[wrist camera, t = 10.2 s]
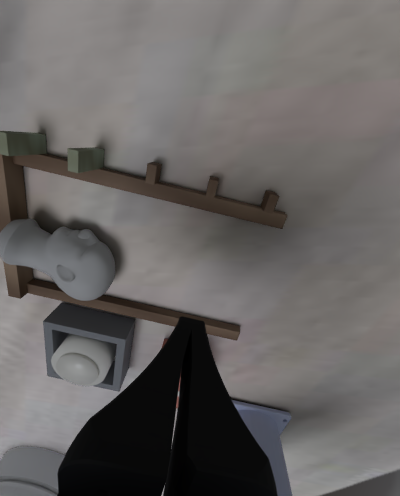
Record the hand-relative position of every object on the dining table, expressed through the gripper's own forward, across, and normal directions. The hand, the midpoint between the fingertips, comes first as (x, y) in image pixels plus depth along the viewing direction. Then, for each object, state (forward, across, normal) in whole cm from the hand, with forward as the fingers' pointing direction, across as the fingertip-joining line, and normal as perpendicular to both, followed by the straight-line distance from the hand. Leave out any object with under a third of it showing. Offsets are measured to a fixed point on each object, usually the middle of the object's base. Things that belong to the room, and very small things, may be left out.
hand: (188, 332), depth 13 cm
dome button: (+7, +8, +10) cm, 15 cm away
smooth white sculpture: (+7, +10, 0) cm, 12 cm away
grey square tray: (+7, +8, +10) cm, 15 cm away
